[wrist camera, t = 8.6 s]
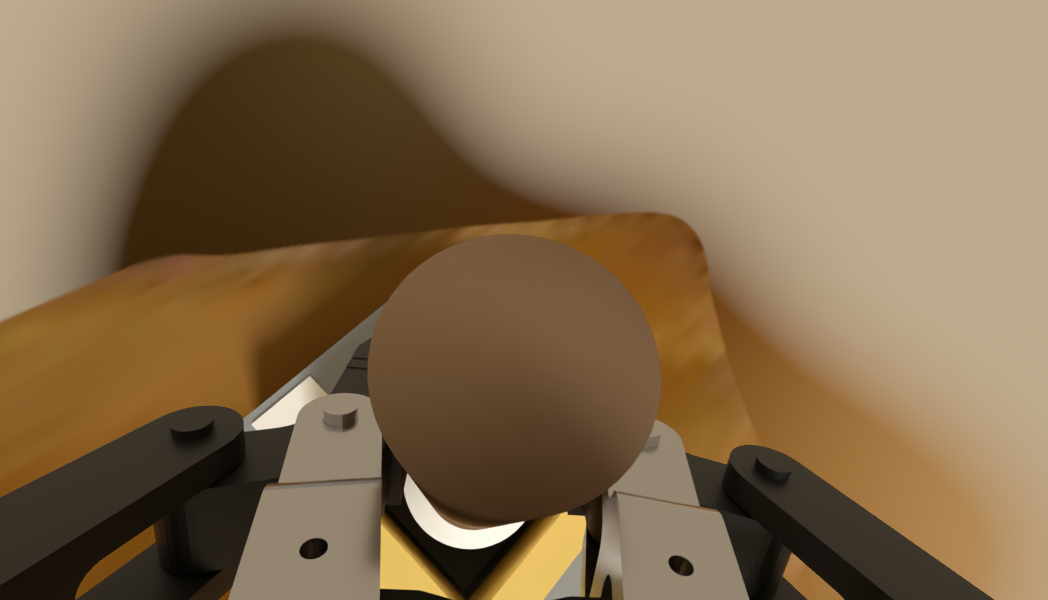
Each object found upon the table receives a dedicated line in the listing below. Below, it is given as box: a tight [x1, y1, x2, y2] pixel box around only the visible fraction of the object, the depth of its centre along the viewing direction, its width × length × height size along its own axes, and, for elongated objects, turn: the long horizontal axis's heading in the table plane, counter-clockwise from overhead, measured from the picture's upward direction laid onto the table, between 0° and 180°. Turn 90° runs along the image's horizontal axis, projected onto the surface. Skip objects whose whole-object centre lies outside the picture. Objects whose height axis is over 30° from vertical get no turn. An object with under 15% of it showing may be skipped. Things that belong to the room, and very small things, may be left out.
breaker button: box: [404, 473, 525, 549], centre depth 20 cm, size 4×4×8 cm
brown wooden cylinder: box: [367, 234, 661, 530], centre depth 11 cm, size 3×3×12 cm
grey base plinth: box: [243, 302, 586, 600], centre depth 22 cm, size 18×12×12 cm, turn 47°
